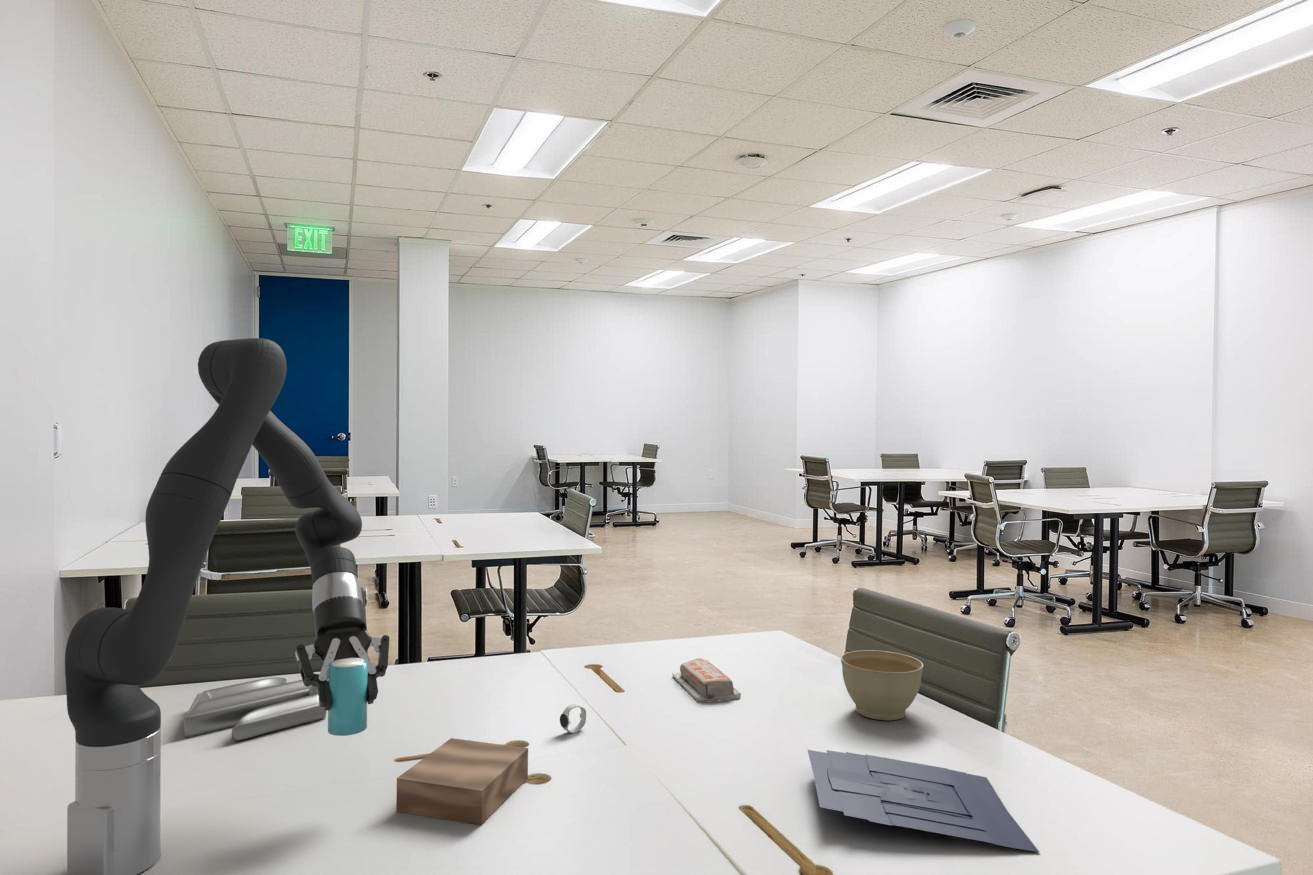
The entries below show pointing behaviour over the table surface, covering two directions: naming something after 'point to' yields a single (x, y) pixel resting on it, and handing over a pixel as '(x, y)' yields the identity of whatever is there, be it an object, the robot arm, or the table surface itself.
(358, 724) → the tumbler
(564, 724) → the wristwatch
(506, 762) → the wooden square base
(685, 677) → the packaged product
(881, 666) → the planter bowl
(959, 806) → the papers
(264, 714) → the emblem
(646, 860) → the table surface
